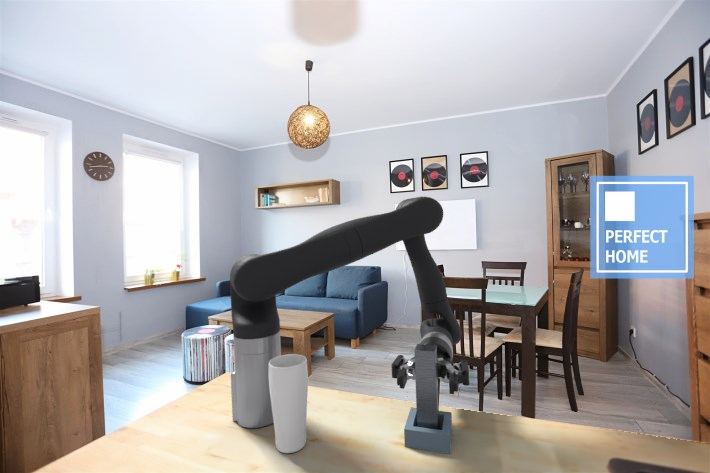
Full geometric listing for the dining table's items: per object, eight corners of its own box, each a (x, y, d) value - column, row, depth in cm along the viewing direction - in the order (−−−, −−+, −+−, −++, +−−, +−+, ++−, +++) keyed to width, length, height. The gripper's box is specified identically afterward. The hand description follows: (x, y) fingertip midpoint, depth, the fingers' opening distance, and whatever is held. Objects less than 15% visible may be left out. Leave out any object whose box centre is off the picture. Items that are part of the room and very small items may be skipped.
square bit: (417, 441, 59) (414, 350, 59) (420, 429, 63) (417, 343, 62) (438, 444, 58) (434, 351, 58) (439, 432, 62) (436, 345, 61)
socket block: (404, 446, 58) (404, 429, 58) (411, 422, 65) (410, 407, 65) (450, 453, 56) (449, 435, 56) (452, 428, 63) (451, 412, 63)
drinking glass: (302, 459, 55) (299, 368, 55) (264, 456, 57) (260, 367, 57) (315, 435, 62) (312, 354, 62) (281, 432, 63) (277, 352, 63)
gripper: (401, 334, 76) (384, 360, 61) (468, 338, 72) (468, 368, 56) (402, 367, 76) (386, 402, 61) (469, 373, 72) (470, 412, 56)
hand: (426, 385), depth 58 cm, fingers open, 8 cm apart
